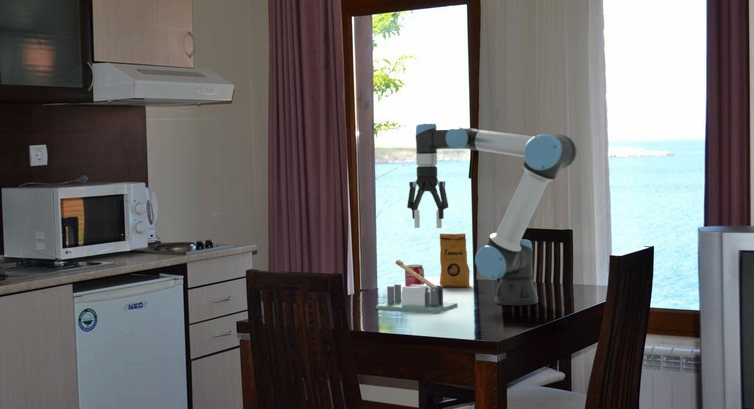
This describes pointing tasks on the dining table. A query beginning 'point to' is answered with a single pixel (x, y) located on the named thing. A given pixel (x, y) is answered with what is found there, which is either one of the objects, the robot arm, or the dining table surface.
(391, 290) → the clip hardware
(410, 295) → the heat sink
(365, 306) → the dining table surface
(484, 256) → the robot arm
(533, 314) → the dining table surface
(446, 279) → the coffee package
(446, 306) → the board
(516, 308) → the dining table surface
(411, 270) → the strap
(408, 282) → the soda can
